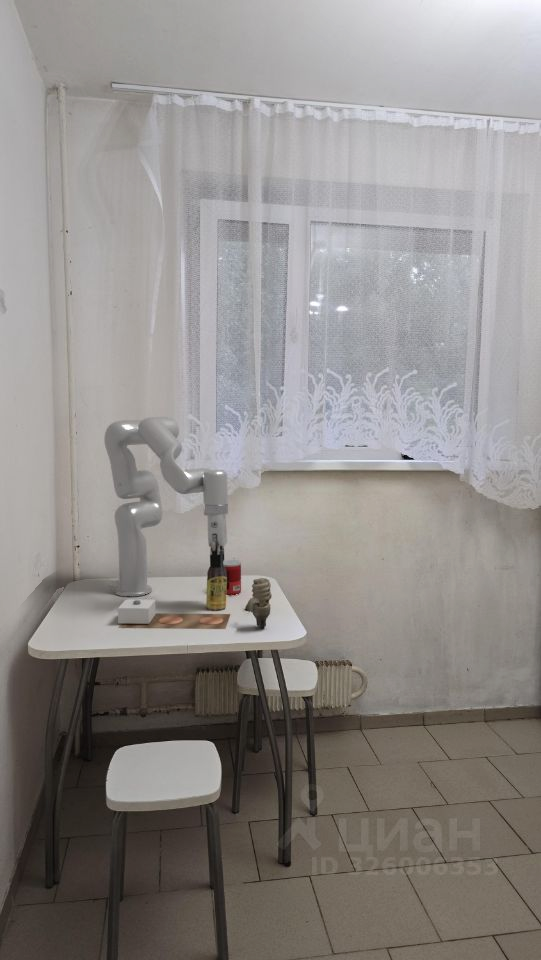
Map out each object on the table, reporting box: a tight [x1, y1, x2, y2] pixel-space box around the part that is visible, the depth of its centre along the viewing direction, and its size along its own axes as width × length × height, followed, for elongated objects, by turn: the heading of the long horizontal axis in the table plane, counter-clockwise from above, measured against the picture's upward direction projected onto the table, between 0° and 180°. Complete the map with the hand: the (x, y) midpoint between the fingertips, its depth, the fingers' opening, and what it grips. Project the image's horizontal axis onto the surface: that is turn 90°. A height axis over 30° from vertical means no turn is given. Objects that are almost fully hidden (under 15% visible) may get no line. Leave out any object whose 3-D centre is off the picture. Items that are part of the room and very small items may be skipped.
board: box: [117, 612, 231, 630], centre depth 193 cm, size 31×14×1 cm, turn 88°
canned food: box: [223, 559, 242, 596], centre depth 227 cm, size 8×8×11 cm
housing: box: [117, 599, 157, 624], centre depth 193 cm, size 9×9×5 cm
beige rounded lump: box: [244, 591, 273, 613], centre depth 207 cm, size 6×8×10 cm
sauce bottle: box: [205, 549, 227, 612], centre depth 205 cm, size 7×6×20 cm
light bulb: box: [251, 577, 272, 630], centre depth 189 cm, size 6×6×15 cm
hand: (217, 564), depth 204 cm, fingers open, 9 cm apart
